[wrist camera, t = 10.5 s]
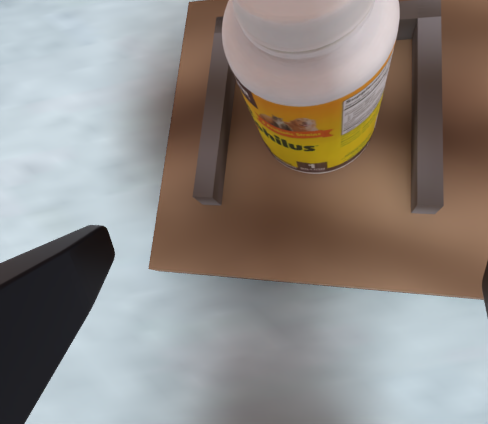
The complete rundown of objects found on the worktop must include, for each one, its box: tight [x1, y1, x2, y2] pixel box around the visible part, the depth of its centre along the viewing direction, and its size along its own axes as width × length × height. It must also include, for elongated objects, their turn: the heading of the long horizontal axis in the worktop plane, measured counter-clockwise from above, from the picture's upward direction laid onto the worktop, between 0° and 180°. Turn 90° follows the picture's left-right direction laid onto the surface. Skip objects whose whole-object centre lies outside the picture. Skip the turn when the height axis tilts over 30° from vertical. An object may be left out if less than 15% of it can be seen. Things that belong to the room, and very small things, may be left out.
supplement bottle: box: [222, 0, 400, 174], centre depth 15 cm, size 6×6×10 cm
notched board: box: [149, 0, 488, 300], centre depth 20 cm, size 16×16×3 cm
